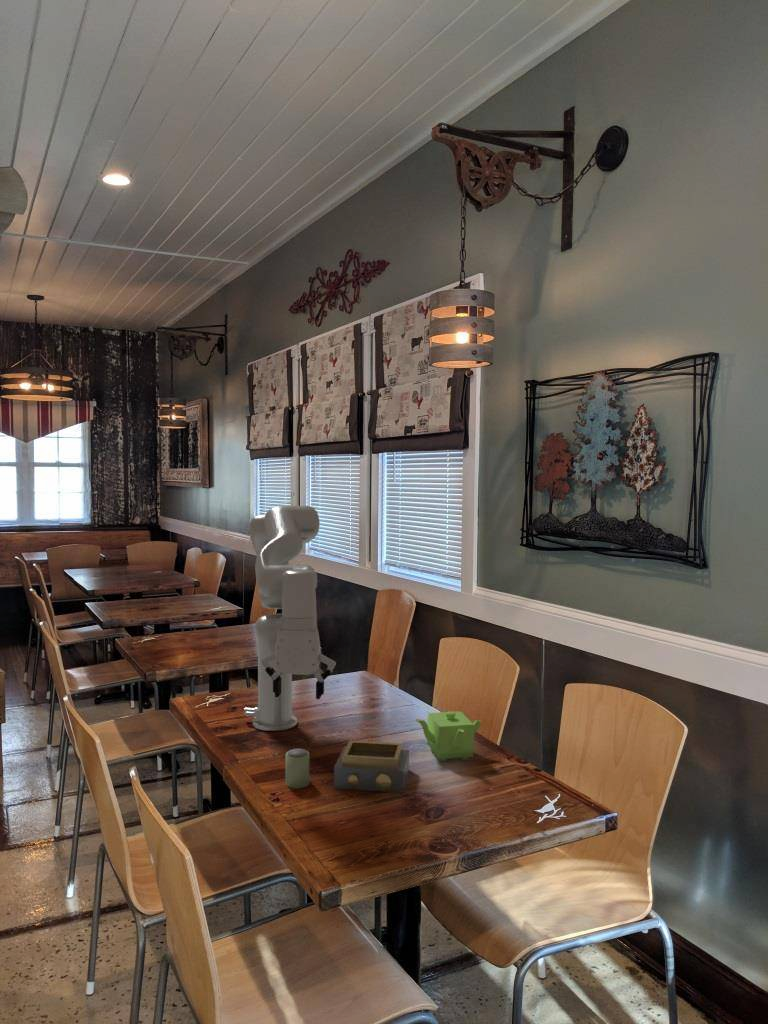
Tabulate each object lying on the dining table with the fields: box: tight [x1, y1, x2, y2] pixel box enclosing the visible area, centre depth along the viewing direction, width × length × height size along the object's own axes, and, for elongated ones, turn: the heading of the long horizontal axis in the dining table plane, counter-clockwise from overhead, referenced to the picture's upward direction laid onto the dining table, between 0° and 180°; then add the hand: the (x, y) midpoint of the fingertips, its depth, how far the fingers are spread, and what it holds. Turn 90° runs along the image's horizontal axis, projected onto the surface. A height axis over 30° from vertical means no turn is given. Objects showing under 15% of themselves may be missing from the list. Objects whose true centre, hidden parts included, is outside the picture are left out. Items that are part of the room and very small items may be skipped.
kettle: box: [414, 710, 483, 763], centre depth 193 cm, size 15×14×11 cm
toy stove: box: [333, 740, 410, 794], centre depth 177 cm, size 16×14×7 cm
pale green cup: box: [284, 748, 310, 789], centre depth 176 cm, size 6×7×7 cm
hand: (298, 696), depth 174 cm, fingers open, 9 cm apart
